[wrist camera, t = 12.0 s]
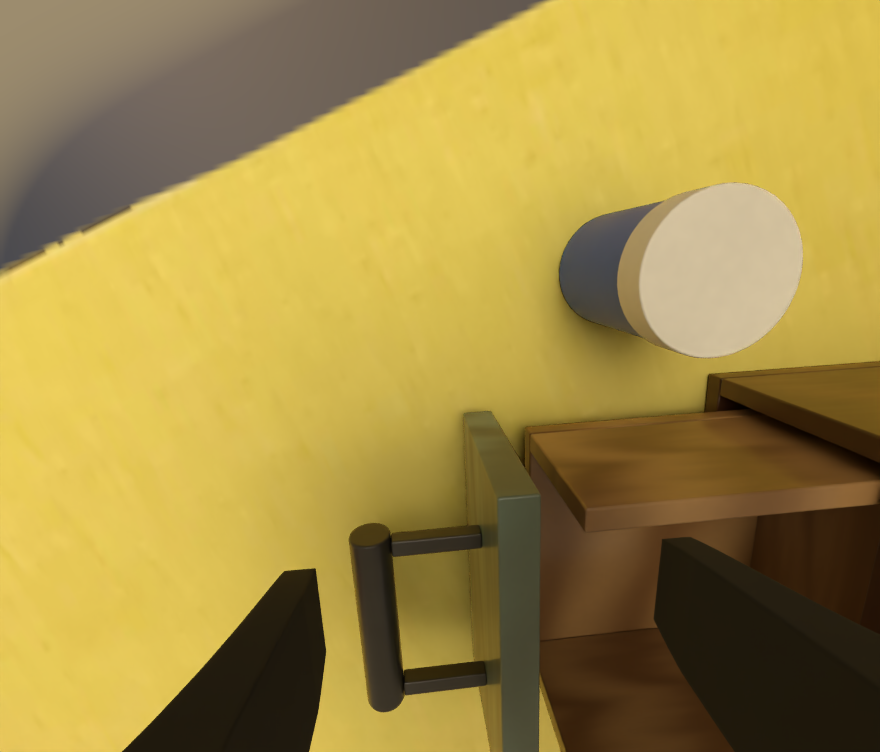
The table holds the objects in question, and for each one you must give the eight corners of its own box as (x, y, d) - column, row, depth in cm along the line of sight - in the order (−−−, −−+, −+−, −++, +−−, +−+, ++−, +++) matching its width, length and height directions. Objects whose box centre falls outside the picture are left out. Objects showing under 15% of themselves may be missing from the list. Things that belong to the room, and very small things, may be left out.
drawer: (379, 664, 21) (369, 847, 14) (352, 421, 18) (323, 514, 11) (736, 623, 22) (877, 774, 16) (771, 388, 19) (967, 455, 12)
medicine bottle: (613, 347, 19) (719, 389, 13) (533, 281, 18) (604, 292, 12) (687, 258, 18) (837, 257, 12) (607, 185, 17) (726, 141, 11)
